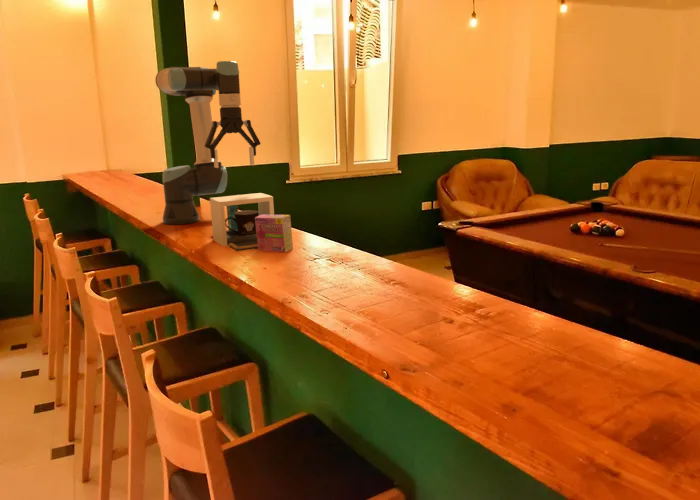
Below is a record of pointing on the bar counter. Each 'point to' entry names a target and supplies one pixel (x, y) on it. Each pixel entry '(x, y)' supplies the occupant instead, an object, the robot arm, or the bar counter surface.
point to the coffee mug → (245, 222)
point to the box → (274, 233)
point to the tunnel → (219, 202)
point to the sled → (233, 236)
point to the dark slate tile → (244, 246)
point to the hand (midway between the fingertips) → (234, 166)
